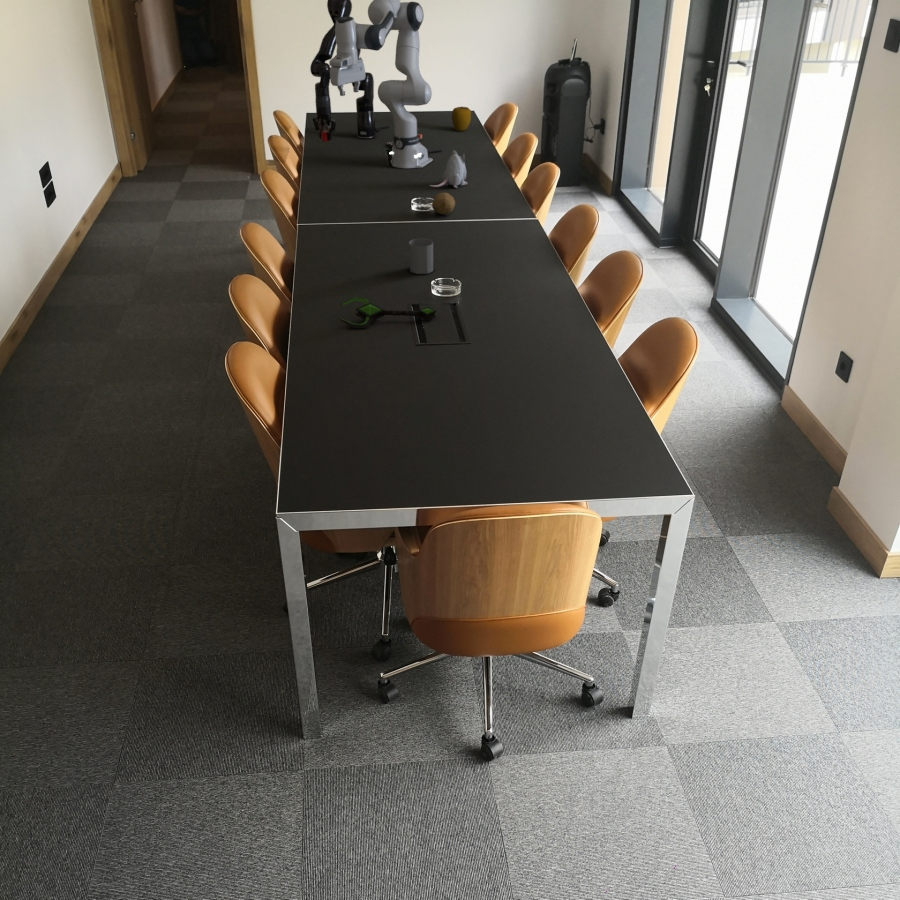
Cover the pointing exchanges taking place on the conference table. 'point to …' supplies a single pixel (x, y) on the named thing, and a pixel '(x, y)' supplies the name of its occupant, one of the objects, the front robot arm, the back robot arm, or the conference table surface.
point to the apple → (461, 118)
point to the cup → (421, 256)
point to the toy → (454, 171)
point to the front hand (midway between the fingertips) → (349, 93)
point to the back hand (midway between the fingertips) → (325, 139)
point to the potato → (443, 203)
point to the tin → (324, 136)
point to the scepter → (383, 312)
